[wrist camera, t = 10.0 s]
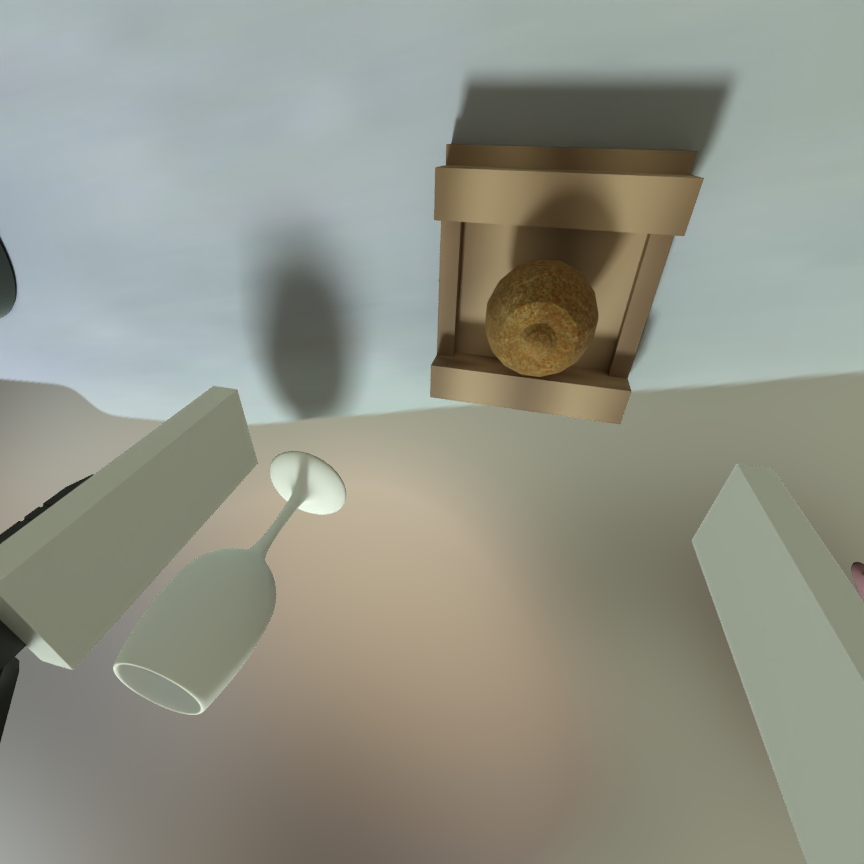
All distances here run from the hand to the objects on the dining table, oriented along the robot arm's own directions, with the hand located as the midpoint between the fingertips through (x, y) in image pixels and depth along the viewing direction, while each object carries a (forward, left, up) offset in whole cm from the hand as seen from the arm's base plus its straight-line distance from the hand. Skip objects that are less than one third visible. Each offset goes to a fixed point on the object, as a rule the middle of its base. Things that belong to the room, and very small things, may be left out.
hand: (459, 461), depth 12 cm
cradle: (+2, -1, -20) cm, 20 cm away
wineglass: (-19, -23, -20) cm, 36 cm away
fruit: (+2, -1, -19) cm, 19 cm away
